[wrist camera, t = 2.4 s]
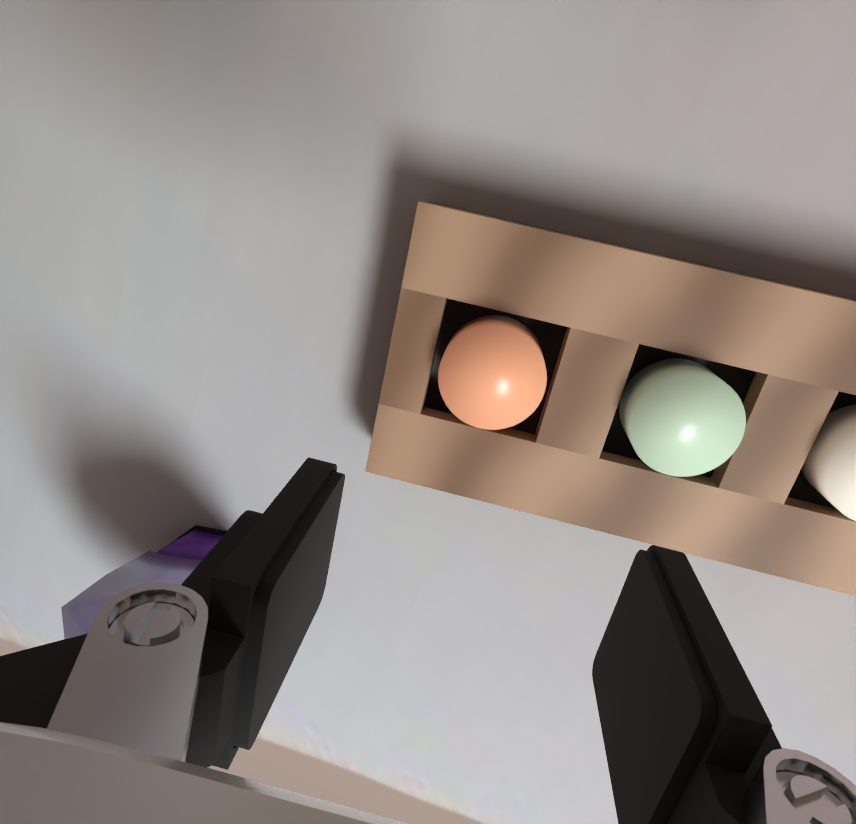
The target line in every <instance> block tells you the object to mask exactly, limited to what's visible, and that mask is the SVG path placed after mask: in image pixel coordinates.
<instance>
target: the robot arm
mask: <svg viewBox="0 0 856 824" xmlns="http://www.w3.org/2000/svg"><path fill="white" fill-rule="evenodd" d="M344 480H345V474H342V473H338V472H337V466H336V464H332V463H328V462H324V461H320V460H316V459H313V458H308V459H306V461H305V462H304V463H303V464H302V466H301V467H300V468H299V469H298V471H297V472H296V473H295V474H294V476H293V477H292V478H291V479H290V481H289V482H288V483H287V484H286V486H285V487H284V488H283V489H282V491H281V492H280V493H279V494H278V496H277V497H276V498H275V499H274V501H273V502H272V503H271V504H270V506H269V507H268V508H267V509H266V511H265V512H264V513H263V514H262V513H258V512H254V511H250V510H248V511H245V512H244V513H243V514H242V515H241V516H240V517H239V518H238V520H237V521H236V522H235V523H234V524H233V525H232V526H231V528H230V529H229V530H228V531H227V532H226V533H225V535H224V536H223V537H222V538H221V539H220V540H219V541H218V543H217V544H216V545H215V546H214V547H213V548H212V549H211V551H210V552H209V553H208V554H207V555H206V556H205V558H204V559H203V560H202V561H201V562H200V563H199V564H198V566H197V567H196V568H195V569H194V570H193V571H192V573H191V574H190V575H189V576H188V577H187V578H186V579H185V581H184V582H183V583H182V584H181V585H179V584H172V583H164V582H163V583H147V584H143V585H139V586H134V587H130V588H128V589H126V590H124V591H122V592H120V593H118V594H115V595H114V596H113V597H112V598H110V599H109V600H108V601H106V602H105V603H104V604H103V605H102V607H101V608H100V610H99V611H98V613H97V614H96V616H95V618H94V620H93V623H92V625H91V627H90V630H89V632H88V633H87V634H84V635H80V636H76V637H72V638H68V639H64V640H61V641H57V642H53V643H49V644H45V645H41V646H38V647H34V648H30V649H26V650H23V651H18V652H15V653H11V654H7V655H3V656H0V824H407V823H404V822H400V821H397V820H394V819H390V818H387V817H383V816H379V815H375V814H372V813H369V812H365V811H361V810H358V809H354V808H350V807H347V806H343V805H339V804H336V803H332V802H329V801H325V800H321V799H318V798H314V797H311V796H307V795H303V794H300V793H296V792H293V791H289V790H285V789H282V788H278V787H275V786H271V785H268V784H264V783H260V782H256V781H253V780H249V779H246V778H242V777H238V776H235V775H231V774H228V773H224V772H221V771H217V770H213V769H210V768H207V767H209V766H212V765H213V766H217V767H220V768H224V769H228V768H229V766H230V764H231V762H232V760H233V758H234V756H235V754H236V752H237V750H238V748H239V747H240V748H244V749H247V750H249V749H250V748H251V747H252V745H253V743H254V741H255V739H256V737H257V735H258V733H259V731H260V729H261V727H262V725H263V722H264V720H265V718H266V716H267V714H268V712H269V710H270V708H271V706H272V704H273V701H274V699H275V697H276V695H277V693H278V691H279V689H280V687H281V685H282V683H283V680H284V678H285V676H286V674H287V672H288V670H289V668H290V666H291V664H292V662H293V659H294V657H295V655H296V653H297V651H298V649H299V647H300V645H301V643H302V640H303V638H304V636H305V634H306V632H307V630H308V628H309V626H310V624H311V622H312V619H313V617H314V615H315V613H316V611H317V609H318V607H319V605H320V602H321V599H322V596H323V593H324V589H325V585H326V579H327V574H328V568H329V563H330V557H331V552H332V547H333V541H334V536H335V530H336V525H337V519H338V514H339V508H340V503H341V497H342V492H343V486H344ZM592 676H593V683H594V689H595V694H596V700H597V705H598V711H599V717H600V722H601V728H602V734H603V739H604V745H605V750H606V756H607V762H608V767H609V773H610V778H611V784H612V790H613V795H614V801H615V806H616V812H617V818H618V823H619V824H856V786H855V785H854V784H853V783H852V782H851V781H849V780H848V779H847V778H846V777H844V776H843V775H842V774H841V773H839V772H838V771H837V770H835V769H834V768H833V767H831V766H829V765H828V764H826V763H824V762H822V761H821V760H819V759H817V758H816V757H813V756H811V755H808V754H806V753H803V752H801V751H797V750H791V749H785V748H783V749H782V748H781V746H780V744H779V742H778V740H777V738H776V736H775V734H774V732H773V730H772V728H771V727H772V725H771V723H770V721H769V719H768V717H767V715H766V713H765V711H764V709H763V707H762V705H761V703H760V701H759V699H758V697H757V695H756V693H755V691H754V689H753V687H752V685H751V683H750V681H749V679H748V677H747V675H746V673H745V671H744V669H743V667H742V666H741V664H740V662H739V660H738V658H737V656H736V654H735V652H734V650H733V648H732V646H731V644H730V642H729V640H728V638H727V636H726V634H725V632H724V630H723V628H722V626H721V624H720V622H719V620H718V618H717V616H716V614H715V612H714V610H713V608H712V606H711V604H710V603H709V601H708V599H707V597H706V595H705V593H704V591H703V589H702V587H701V585H700V583H699V581H698V579H697V577H696V575H695V573H694V571H693V569H692V567H691V565H690V563H689V561H688V559H687V557H686V555H685V554H684V553H682V552H679V551H675V550H671V549H667V548H663V547H659V546H655V545H652V546H650V547H649V548H648V550H647V551H644V550H639V551H638V553H637V554H636V556H635V558H634V561H633V563H632V566H631V568H630V571H629V573H628V576H627V578H626V581H625V583H624V586H623V588H622V591H621V593H620V596H619V598H618V601H617V603H616V606H615V608H614V611H613V613H612V616H611V618H610V621H609V623H608V626H607V628H606V631H605V633H604V636H603V638H602V641H601V643H600V646H599V648H598V651H597V653H596V656H595V659H594V663H593V670H592Z"/></svg>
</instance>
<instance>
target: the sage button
mask: <svg viewBox="0 0 856 824" xmlns="http://www.w3.org/2000/svg"><path fill="white" fill-rule="evenodd" d="M619 414H620V420H621V423H622V426H623V428H624V430H625V432H626V434H627V436H628V438H629V440H630V442H631V444H632V446H633V448H634V450H635V452H636V453H637V455H638V456H639V458H640V459H641V460H642V461H643V462H644V463H645V464H647V465H648V466H649V467H651V468H652V469H654V470H656V471H658V472H660V473H663V474H666V475H671V476H678V477H687V476H695V475H699V474H703V473H706V472H708V471H711V470H713V469H715V468H716V467H718V466H720V465H721V464H723V463H724V462H725V461H726V460H727V459H729V458H730V456H731V455H732V454H733V453H734V452H735V451H736V449H737V448H738V446H739V444H740V442H741V440H742V438H743V435H744V432H745V427H746V415H745V410H744V406H743V404H742V401H741V399H740V398H739V396H738V394H737V393H736V392H735V391H734V390H733V389H732V388H731V387H730V386H729V385H728V384H726V383H725V382H724V381H723V380H721V379H720V378H719V377H718V376H717V375H715V374H714V373H713V372H712V371H710V370H709V369H708V368H706V367H705V366H703V365H702V364H699V363H697V362H694V361H691V360H687V359H666V360H661V361H658V362H655V363H653V364H651V365H649V366H647V367H645V368H644V369H642V370H641V371H639V372H638V373H637V374H636V375H635V376H634V377H633V378H632V379H631V380H630V382H629V383H628V384H627V386H626V388H625V389H624V392H623V394H622V397H621V400H620V406H619Z"/></svg>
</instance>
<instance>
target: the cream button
mask: <svg viewBox="0 0 856 824" xmlns="http://www.w3.org/2000/svg"><path fill="white" fill-rule="evenodd" d="M801 470H802V473H803V475H804V477H805V478H806V480H807V481H808V482H809V483H810V484H811V485H812V486H813V487H814V488H815V489H816V490H817V491H818V492H819V493H820V494H822V495H823V496H824V497H825V498H826V499H827V500H828V501H829V502H830V503H831V504H832V505H833V506H835V507H836V508H837V509H838V510H839V511H840V512H841V513H842V514H844V515H845V516H847V517H848V518H850V519H852V520H854V521H856V404H854V405H849V406H845V407H842V408H839V409H837V410H835V411H833V412H831V413H829V414H827V417H826V419H825V421H824V423H823V425H822V427H821V429H820V431H819V433H818V435H817V437H816V439H815V441H814V443H813V445H812V447H811V449H810V451H809V453H808V455H807V458H806V460H805V462H804V464H803V466H802V468H801Z"/></svg>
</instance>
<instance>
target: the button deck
mask: <svg viewBox="0 0 856 824" xmlns="http://www.w3.org/2000/svg"><path fill="white" fill-rule="evenodd" d="M447 299H452V300H456V301H460V302H465V303H469V304H473V305H477V306H482V307H486V308H490V309H494V310H498V311H503V312H507V313H511V314H515V315H519V316H524V317H528V318H532V319H536V320H541V321H545V322H549V323H553V324H557V325H562V326H566V327H567V330H566V333H565V336H564V340H563V343H562V346H561V350H560V353H559V356H558V360H557V363H556V366H555V370H554V373H553V376H552V380H551V383H550V386H549V389H548V393H547V396H546V399H545V403H544V406H543V409H542V413H541V416H540V419H539V423H538V426H537V429H536V433H535V434H531V433H527V432H523V431H519V430H515V429H511V428H504V429H498V430H487V429H481V428H477V427H474V426H471V425H469V424H467V423H465V422H463V421H462V420H460V419H459V418H458V417H456V416H455V415H454V414H450V413H446V412H442V411H438V410H434V409H430V408H426V407H423V406H424V402H425V397H426V393H427V388H428V384H429V379H430V375H431V370H432V366H433V362H434V357H435V353H436V348H437V344H438V339H439V335H440V330H441V326H442V321H443V317H444V312H445V308H446V304H447ZM639 344H642V345H646V346H650V347H654V348H659V349H663V350H667V351H671V352H675V353H680V354H684V355H688V356H692V357H697V358H701V359H705V360H709V361H713V362H718V363H722V364H726V365H730V366H734V367H739V368H743V369H747V370H751V371H756V374H755V377H754V379H753V381H752V384H751V386H750V388H749V391H748V393H747V395H746V398H745V400H744V402H743V406H744V410H745V415H746V427H745V432H744V435H743V438H742V440H741V442H740V444H739V446H738V448H737V449H736V451H735V452H734V453H733V454H732V455H731V456H730V458H729V459H727V460H726V461H725V462H724V463H723V464H721V465H720V466H718V467H716V468H715V470H714V472H713V474H712V477H711V478H709V477H705V476H701V475H695V476H687V477H678V476H671V475H666V474H663V473H660V472H658V471H656V470H654V469H652V468H651V467H649V466H648V465H647V464H645V463H644V462H643V461H640V460H636V459H632V458H628V457H624V456H620V455H616V454H612V453H608V452H604V451H602V449H603V446H604V443H605V440H606V437H607V435H608V432H609V429H610V426H611V423H612V420H613V417H614V414H615V412H616V409H617V406H618V403H619V400H620V397H621V394H622V392H623V389H624V386H625V383H626V380H627V377H628V374H629V372H630V369H631V366H632V363H633V360H634V357H635V354H636V352H637V349H638V346H639ZM839 391H840V392H844V393H848V394H853V395H856V300H853V299H849V298H844V297H840V296H835V295H831V294H827V293H822V292H818V291H814V290H809V289H805V288H801V287H796V286H792V285H787V284H783V283H779V282H774V281H770V280H766V279H761V278H757V277H753V276H748V275H744V274H739V273H735V272H731V271H726V270H722V269H718V268H713V267H709V266H705V265H700V264H696V263H692V262H687V261H683V260H678V259H674V258H670V257H665V256H661V255H657V254H652V253H648V252H644V251H639V250H635V249H630V248H626V247H622V246H617V245H613V244H609V243H604V242H600V241H596V240H591V239H587V238H582V237H578V236H574V235H569V234H565V233H561V232H556V231H552V230H548V229H543V228H539V227H534V226H530V225H526V224H521V223H517V222H513V221H508V220H504V219H500V218H495V217H491V216H486V215H482V214H478V213H473V212H469V211H465V210H460V209H456V208H452V207H447V206H443V205H438V204H434V203H430V202H419V201H418V204H417V209H416V214H415V219H414V224H413V230H412V235H411V240H410V245H409V250H408V255H407V260H406V266H405V271H404V276H403V281H402V286H401V291H400V296H399V301H398V307H397V312H396V317H395V322H394V327H393V332H392V337H391V342H390V348H389V353H388V358H387V363H386V368H385V373H384V378H383V383H382V389H381V394H380V399H379V404H378V409H377V414H376V419H375V425H374V430H373V435H372V440H371V445H370V450H369V455H368V460H367V466H366V472H370V473H373V474H377V475H381V476H385V477H389V478H393V479H397V480H401V481H405V482H409V483H413V484H417V485H421V486H425V487H429V488H433V489H436V490H440V491H444V492H448V493H452V494H456V495H460V496H464V497H468V498H472V499H476V500H480V501H484V502H488V503H492V504H495V505H499V506H503V507H507V508H511V509H515V510H519V511H523V512H527V513H531V514H535V515H539V516H543V517H547V518H551V519H554V520H558V521H562V522H566V523H570V524H574V525H578V526H582V527H586V528H590V529H594V530H598V531H602V532H606V533H610V534H614V535H617V536H621V537H625V538H629V539H633V540H637V541H641V542H645V543H649V544H653V545H657V546H661V547H665V548H669V549H673V550H676V551H680V552H684V553H688V554H692V555H696V556H700V557H704V558H708V559H712V560H716V561H720V562H724V563H728V564H732V565H736V566H739V567H743V568H747V569H751V570H755V571H759V572H763V573H767V574H771V575H775V576H779V577H783V578H787V579H791V580H795V581H798V582H802V583H806V584H810V585H814V586H818V587H822V588H826V589H830V590H834V591H838V592H842V593H846V594H850V595H854V596H856V521H854V520H852V519H850V518H848V517H847V516H845V515H844V514H842V513H841V512H840V511H839V510H838V509H835V508H830V507H826V506H822V505H818V504H814V503H810V502H806V501H802V500H798V499H794V498H790V497H787V496H788V494H789V492H790V490H791V488H792V486H793V484H794V482H795V480H796V478H797V476H798V474H799V472H800V470H801V468H802V466H803V464H804V462H805V460H806V458H807V455H808V453H809V451H810V449H811V447H812V445H813V443H814V441H815V439H816V437H817V435H818V433H819V431H820V429H821V427H822V425H823V423H824V421H825V419H826V417H827V414H828V412H829V410H830V408H831V406H832V404H833V402H834V400H835V398H836V396H837V394H838V392H839Z"/></svg>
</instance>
